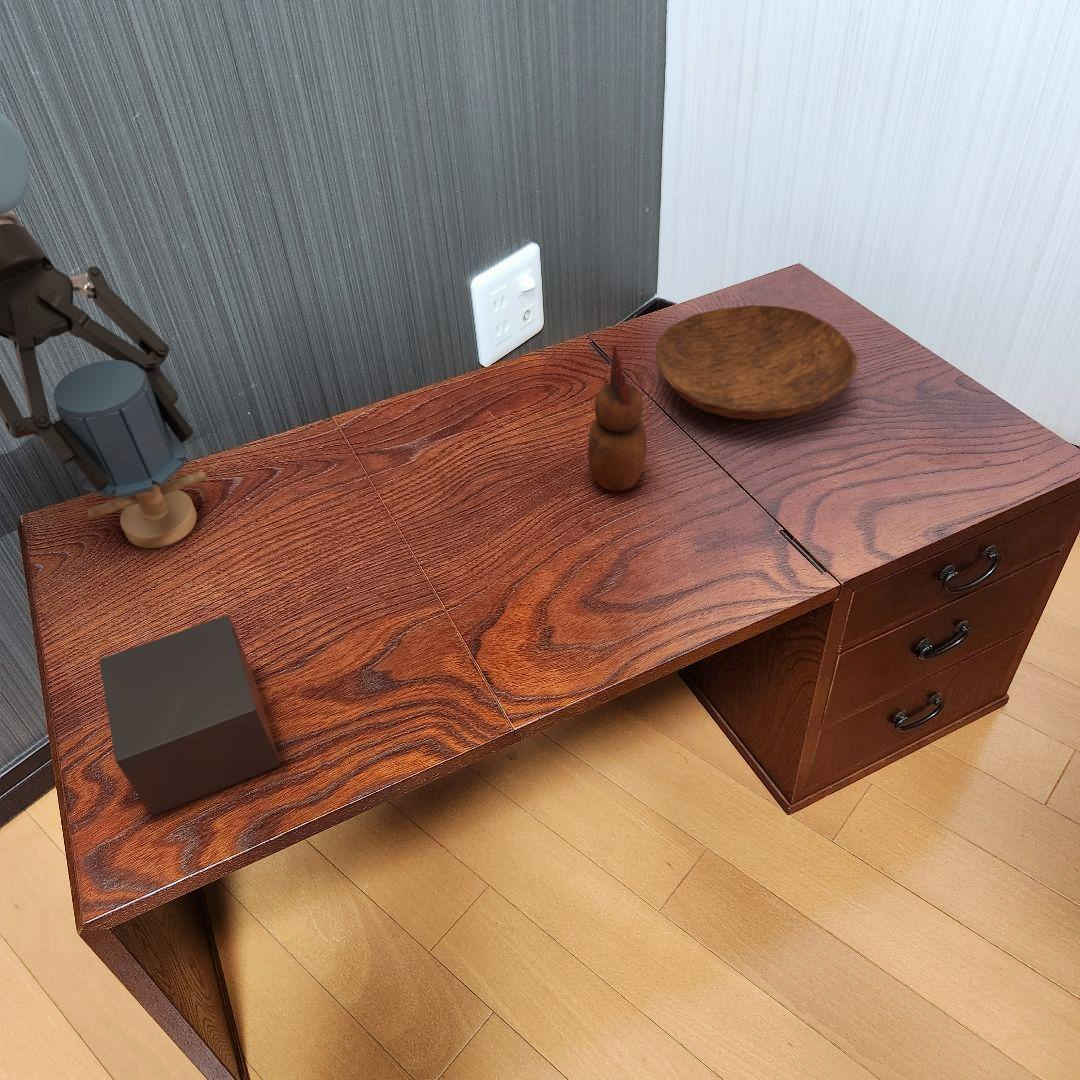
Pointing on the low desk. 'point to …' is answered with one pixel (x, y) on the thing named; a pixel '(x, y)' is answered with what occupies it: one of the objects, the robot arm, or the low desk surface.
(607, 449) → the wooden figurine
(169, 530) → the hat stand
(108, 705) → the riser
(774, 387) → the bowl
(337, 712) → the low desk surface
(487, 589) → the low desk surface
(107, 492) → the hat
